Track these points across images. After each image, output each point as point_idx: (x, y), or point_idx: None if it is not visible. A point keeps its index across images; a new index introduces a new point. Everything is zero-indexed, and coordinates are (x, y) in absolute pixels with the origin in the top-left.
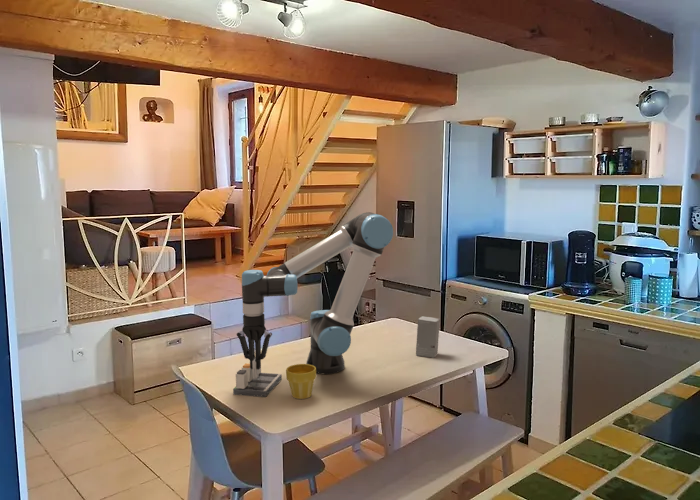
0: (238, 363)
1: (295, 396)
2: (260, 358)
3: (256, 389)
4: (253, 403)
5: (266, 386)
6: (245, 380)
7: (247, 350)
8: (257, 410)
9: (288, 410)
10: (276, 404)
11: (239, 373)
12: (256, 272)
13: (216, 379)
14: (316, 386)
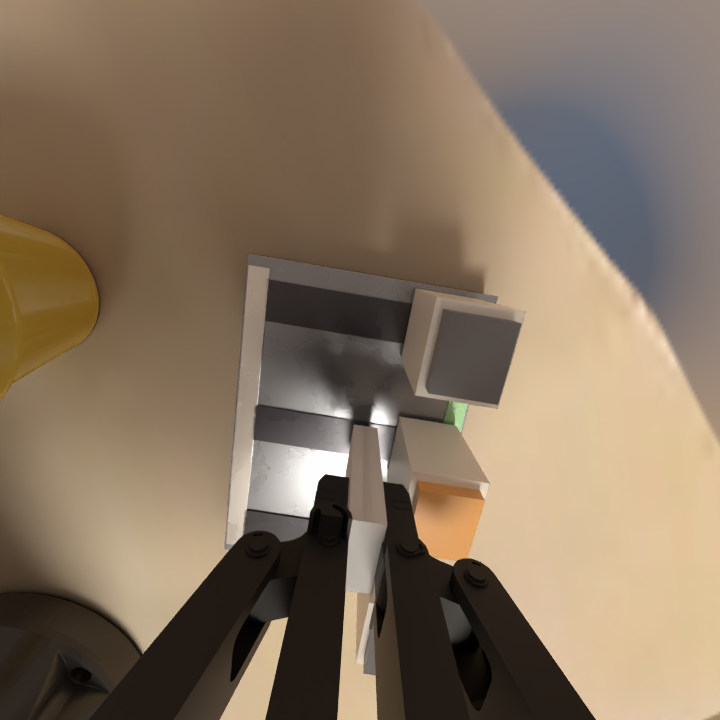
0: None
1: (44, 231)
2: (277, 543)
3: (324, 288)
4: (318, 142)
5: (267, 349)
6: (417, 325)
7: (487, 700)
8: (260, 6)
9: (39, 18)
10: (156, 131)
11: (488, 318)
12: None
13: (618, 516)
14: (3, 432)
